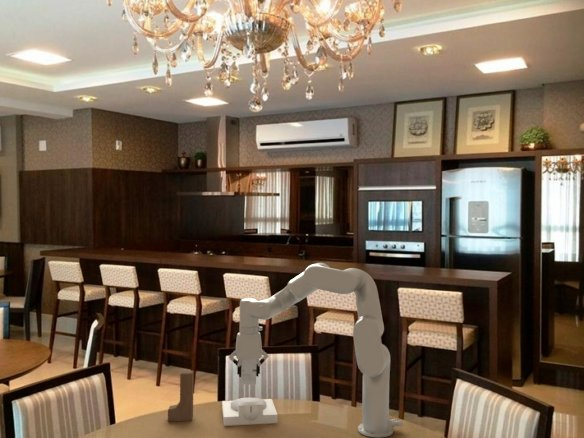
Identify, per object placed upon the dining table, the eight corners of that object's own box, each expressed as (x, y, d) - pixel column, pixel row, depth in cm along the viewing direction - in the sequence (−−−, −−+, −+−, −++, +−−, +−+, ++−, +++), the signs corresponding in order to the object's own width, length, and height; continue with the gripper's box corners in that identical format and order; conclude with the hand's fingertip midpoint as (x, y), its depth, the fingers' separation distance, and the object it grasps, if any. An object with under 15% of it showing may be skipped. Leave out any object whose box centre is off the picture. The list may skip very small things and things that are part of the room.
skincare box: (240, 385, 210) (241, 353, 210) (240, 381, 214) (240, 351, 214) (256, 384, 211) (257, 353, 211) (256, 381, 215) (256, 350, 215)
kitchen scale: (271, 406, 221) (271, 388, 221) (277, 423, 203) (277, 403, 203) (222, 409, 218) (222, 390, 218) (223, 426, 199) (223, 405, 199)
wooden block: (167, 421, 204) (168, 373, 204) (169, 417, 208) (170, 370, 208) (191, 421, 204) (192, 373, 204) (193, 417, 209) (193, 370, 209)
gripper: (269, 327, 218) (269, 372, 218) (226, 328, 215) (226, 374, 215) (272, 331, 210) (271, 377, 210) (227, 332, 207) (226, 379, 207)
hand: (248, 375), depth 212 cm, fingers closed on skincare box, 6 cm apart
